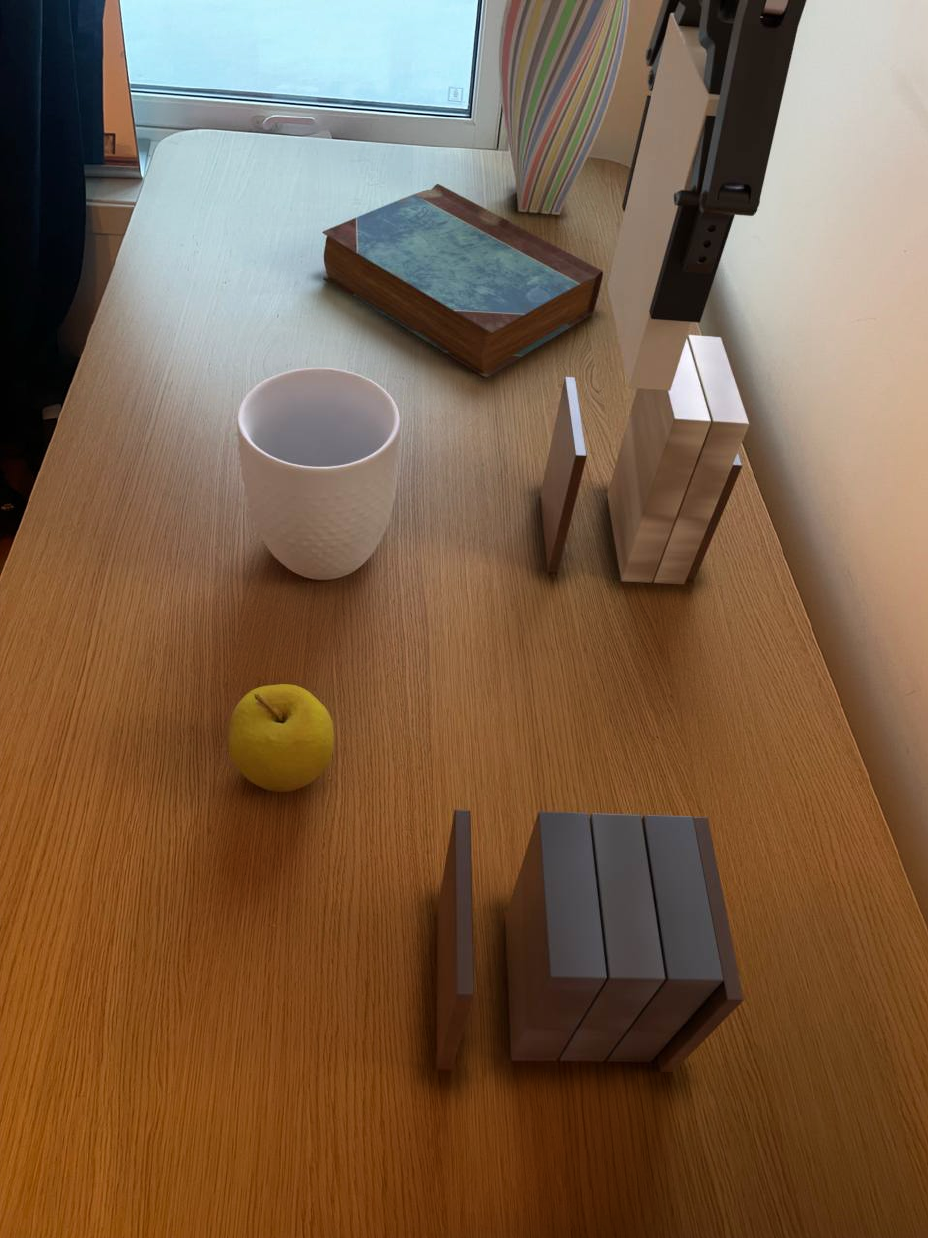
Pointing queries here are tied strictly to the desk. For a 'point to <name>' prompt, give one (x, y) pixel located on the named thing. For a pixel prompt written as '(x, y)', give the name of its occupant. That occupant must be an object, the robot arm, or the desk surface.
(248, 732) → the apple
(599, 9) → the vase
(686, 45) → the cream book
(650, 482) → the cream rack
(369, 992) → the desk surface
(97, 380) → the desk surface
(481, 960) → the desk surface
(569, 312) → the book
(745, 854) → the desk surface
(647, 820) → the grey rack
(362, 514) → the mug
